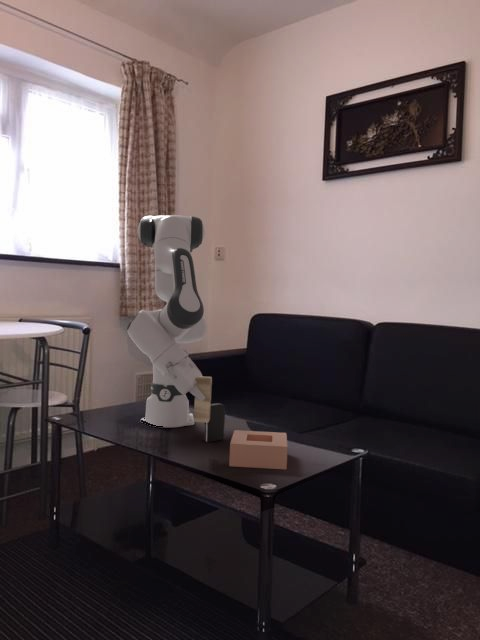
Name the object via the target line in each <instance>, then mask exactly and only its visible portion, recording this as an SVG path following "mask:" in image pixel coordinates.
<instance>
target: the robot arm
mask: <svg viewBox="0 0 480 640" xmlns="http://www.w3.org/2000/svg"><path fill="white" fill-rule="evenodd" d="M205 231H206V230H205V226H204V224H203V220H202V219H201V218H200V217H196V216H192V215H190V216H188V215H180V214H171V215H170V214H169V215H167V214H165V215H163V214H162V215H155V216H153V215H146V216H143V217H142V218H141V219H140V222H139V224H138V227H137V235H138V239H139V241H140V243H141V245H143V246H144V247H147V248H154V249H153V251H154V253H153V254H154V255H153V257H154V261H155V262H154V263H155V264H154V292H155V295H156V296H157V297H158V299H160V300H161V301H162V302H166V304H165V306H164V307H163V308H161V309H156V310H145V309H141V310H139V311H138V312H137V313H135V315H134V316H133V317H132V318H131V320H130V321H129V322H128V324H127V326H126V332H127V334H128V336H129V338H130V339H131V340H132V342H133V343H134V344H135V346H136V347H137V348H138V349H139V351H141V352H142V354H145V355H146V356H147V357H148V358H149V359H150V362H151V363H152V382H151V386H150V393H151V394H150V396H148V397H147V399H146V401H145V402H146V404H145V417H142V418H140V421H141V420H143V421H146V422H148V423H150V424H153V425H156V426H163V427H162V428H180V427H184V426H194V425H195V422H194V413H192V412H191V411H192V410H191V409H190V405H189V404H190V403H189V402H190V400H189V399H188V396H187V395H186V394H187V393H188V392H189V393H190V394H192V396H194V398H195V397H197V398H198V399H199V400H200V401H203V400H204V399H205V398H206V396H205V395H204V394H203V392H201V391H200V390H199V389H198V387H197V386H196V385H195V384H196V383H197V381H196V377H197V376H203V374H202V372H201V370H200V369H199V368H198V367H197V365H196V363H195V362H194V361H193V360H192V359H191V357H189V353H188V351H187V350H185V349H184V348H183V347H182V346H181V345H180V344H191V343H196V342H200V341H202V340H203V339H204V338H205V336H206V333H207V328H208V327H207V322H206V319H205V318H204V317H203V316H204V311H205V308H204V304H203V301H202V299H201V296H200V294H199V291H198V287H197V281H196V273H195V266H194V265H195V264H194V261H193V257H192V254H191V253H192V252H193V250H195V249H197V248H199V247H200V246H201V245H202V243H203V241H204V238H205V235H206V233H205ZM144 418H145V419H144ZM156 426H155V427H156Z"/></svg>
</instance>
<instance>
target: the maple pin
mask: <svg viewBox="0 0 480 640" xmlns="http://www.w3.org/2000/svg"><path fill="white" fill-rule="evenodd" d="M196 381H197V383H196V384H195V385H196V386H197V387H198V389H199V390H200V391H201V392H203V394H204V395H205V396H206V398H205V399H204V400H203V401H200V400H199V399H198V398H197V397H195V396H194V409H193V411H194V413H193V418H194V423H195V422H196V423H205V422H207V423H208V422H209V420H210V410H211V404H212V403H211V402H212V385H213V377H212V376H203V375H202V376H197V377H196Z"/></svg>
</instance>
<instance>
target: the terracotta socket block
mask: <svg viewBox="0 0 480 640" xmlns="http://www.w3.org/2000/svg"><path fill="white" fill-rule="evenodd" d="M228 462H229V463H228V466H229V467H238V468H239V467H240V468H252V469H253V468H255V469H270V470H271V469H272V470H274V469H275V470H287V468H288V467H287V466H288V437H287V432H275V431H274V432H273V431H258V430H257V431H256V430H255V431H254V430H237V429H235V430H234V431H233V434H232V436H231V439H230V443H229V461H228Z"/></svg>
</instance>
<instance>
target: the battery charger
mask: <svg viewBox="0 0 480 640" xmlns="http://www.w3.org/2000/svg"><path fill="white" fill-rule="evenodd" d="M225 419H226V408H225V405H224V404H223V403H217V402H214V403H213V402H212V403H211V410H210V420H209V422H208V423H207V422H204V436H203V441H204V442H206V443H211V442H212V443H213V442H217V441H221V440H224V439H225V421H226V420H225Z"/></svg>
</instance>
